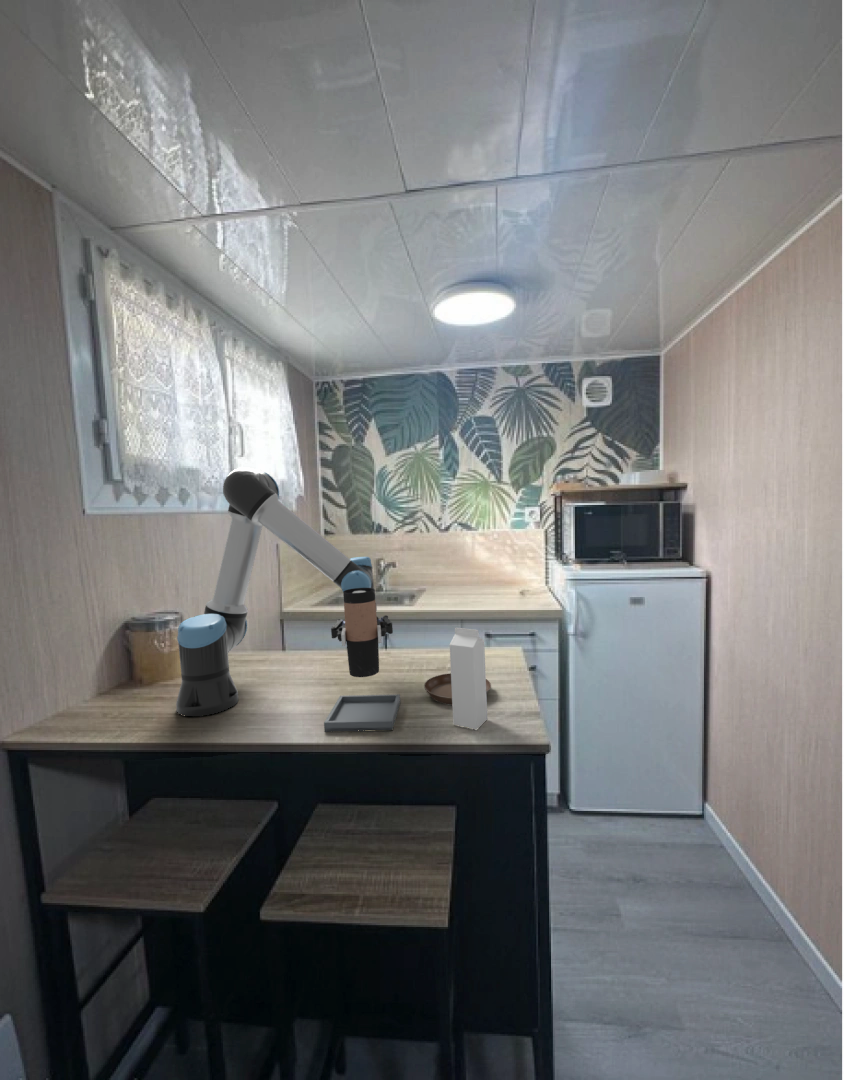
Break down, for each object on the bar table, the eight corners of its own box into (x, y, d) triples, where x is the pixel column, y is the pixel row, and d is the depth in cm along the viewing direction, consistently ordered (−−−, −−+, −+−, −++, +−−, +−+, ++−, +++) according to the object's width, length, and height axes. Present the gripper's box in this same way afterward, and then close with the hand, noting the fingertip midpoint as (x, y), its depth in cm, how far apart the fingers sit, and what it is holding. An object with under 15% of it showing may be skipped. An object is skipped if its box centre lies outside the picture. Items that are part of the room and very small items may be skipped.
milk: (464, 715, 115) (460, 624, 114) (488, 720, 112) (484, 626, 111) (452, 725, 110) (448, 630, 109) (477, 731, 107) (472, 633, 106)
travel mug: (342, 673, 117) (336, 591, 116) (368, 664, 122) (363, 586, 121) (360, 680, 111) (354, 594, 110) (386, 671, 116) (381, 589, 115)
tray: (324, 731, 110) (324, 722, 110) (340, 703, 126) (340, 695, 125) (392, 730, 109) (391, 721, 109) (400, 702, 125) (399, 694, 124)
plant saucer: (502, 689, 131) (501, 678, 131) (472, 714, 116) (471, 702, 116) (446, 679, 141) (445, 669, 140) (411, 701, 126) (411, 689, 126)
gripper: (400, 627, 135) (406, 651, 112) (326, 633, 133) (317, 658, 110) (399, 600, 135) (404, 619, 112) (324, 606, 132) (315, 626, 110)
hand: (361, 638), depth 111 cm, fingers closed on travel mug, 8 cm apart
